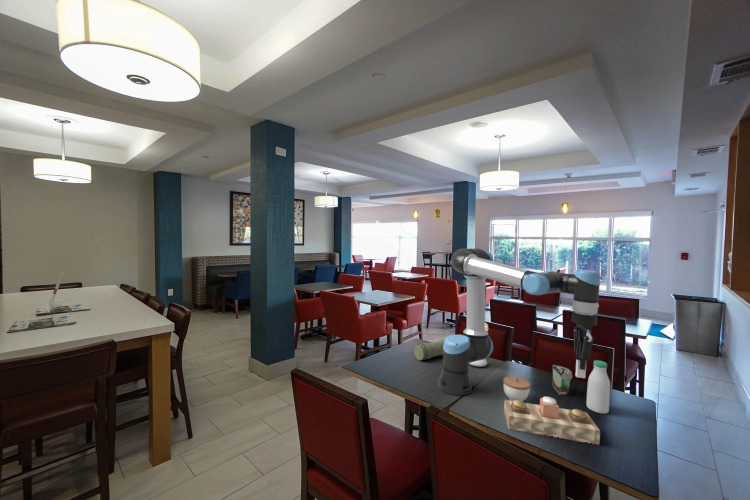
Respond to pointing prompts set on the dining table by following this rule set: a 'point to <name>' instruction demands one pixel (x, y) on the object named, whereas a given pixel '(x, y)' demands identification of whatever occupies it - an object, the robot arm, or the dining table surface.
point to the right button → (579, 416)
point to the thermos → (428, 350)
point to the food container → (561, 379)
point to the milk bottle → (598, 388)
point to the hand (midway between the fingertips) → (580, 376)
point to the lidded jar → (516, 388)
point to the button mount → (551, 424)
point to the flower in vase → (483, 362)
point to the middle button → (549, 407)
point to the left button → (519, 407)
